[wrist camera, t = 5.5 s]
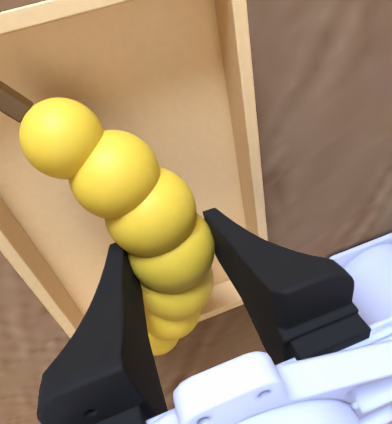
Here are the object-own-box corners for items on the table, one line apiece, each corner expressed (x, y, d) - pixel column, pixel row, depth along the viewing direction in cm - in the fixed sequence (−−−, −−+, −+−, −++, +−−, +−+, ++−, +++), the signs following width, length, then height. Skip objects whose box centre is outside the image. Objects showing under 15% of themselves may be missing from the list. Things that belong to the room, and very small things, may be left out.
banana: (221, 300, 21) (246, 354, 18) (133, 334, 20) (143, 397, 17) (155, 31, 12) (184, 47, 8) (-13, 79, 11) (-50, 114, 8)
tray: (258, 269, 25) (272, 292, 23) (90, 334, 23) (90, 364, 21) (218, -44, 13) (242, -50, 11) (-120, 43, 12) (-160, 53, 10)
